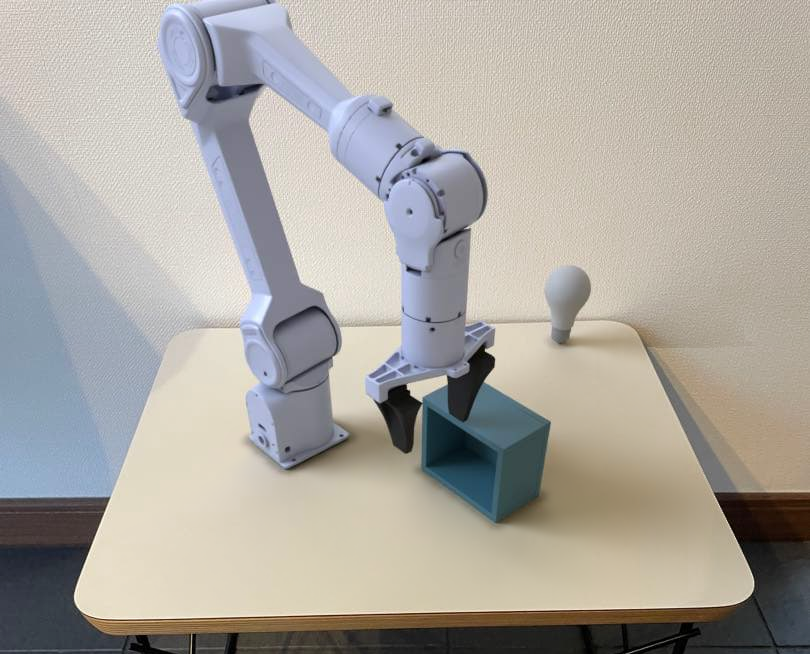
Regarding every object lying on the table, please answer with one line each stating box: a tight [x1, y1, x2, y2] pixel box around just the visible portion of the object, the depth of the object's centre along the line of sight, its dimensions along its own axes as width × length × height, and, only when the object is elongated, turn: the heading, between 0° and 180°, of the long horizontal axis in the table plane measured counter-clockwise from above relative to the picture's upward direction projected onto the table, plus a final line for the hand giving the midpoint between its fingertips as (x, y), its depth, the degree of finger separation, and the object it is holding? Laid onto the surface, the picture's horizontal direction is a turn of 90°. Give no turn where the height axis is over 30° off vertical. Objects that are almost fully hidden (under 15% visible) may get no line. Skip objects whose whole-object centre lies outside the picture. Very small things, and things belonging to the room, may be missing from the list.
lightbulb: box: [544, 264, 592, 344], centre depth 104 cm, size 6×6×11 cm
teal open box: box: [420, 381, 552, 523], centre depth 83 cm, size 7×12×10 cm, turn 41°
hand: (430, 432), depth 76 cm, fingers open, 7 cm apart
